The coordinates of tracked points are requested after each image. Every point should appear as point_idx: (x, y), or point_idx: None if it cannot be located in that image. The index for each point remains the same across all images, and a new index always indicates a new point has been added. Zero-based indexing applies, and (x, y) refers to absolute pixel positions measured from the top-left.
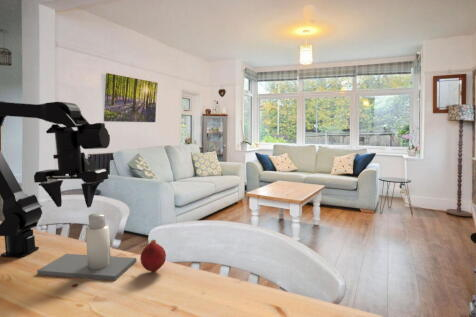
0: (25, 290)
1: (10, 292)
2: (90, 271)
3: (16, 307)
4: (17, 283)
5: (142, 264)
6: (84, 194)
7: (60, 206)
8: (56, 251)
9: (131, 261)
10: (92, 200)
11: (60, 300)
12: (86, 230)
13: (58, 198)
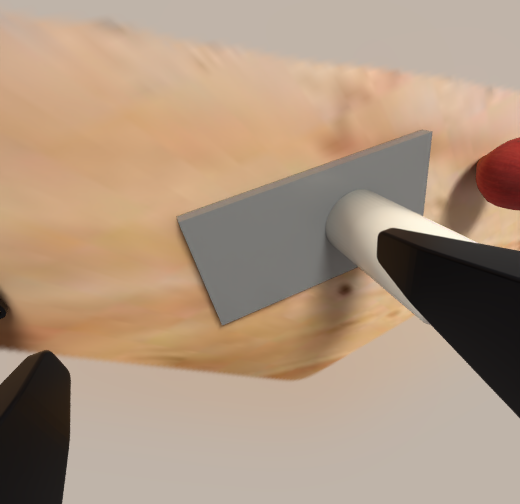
0: (267, 351)
1: (247, 368)
2: None
3: (306, 370)
4: (221, 354)
5: (489, 201)
6: (508, 391)
7: (54, 356)
8: (61, 200)
9: (427, 160)
10: (453, 243)
11: (356, 325)
12: (428, 322)
13: (24, 469)
